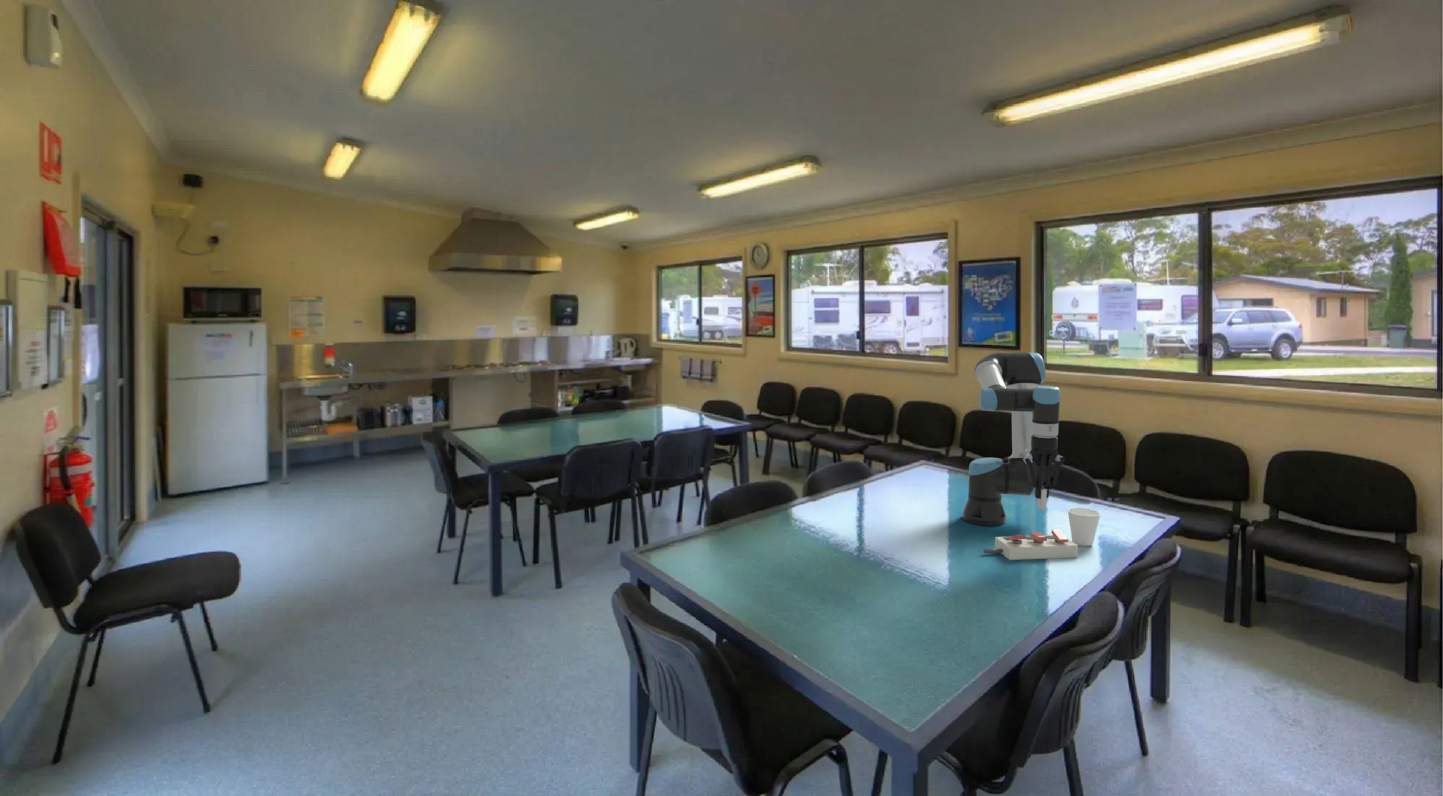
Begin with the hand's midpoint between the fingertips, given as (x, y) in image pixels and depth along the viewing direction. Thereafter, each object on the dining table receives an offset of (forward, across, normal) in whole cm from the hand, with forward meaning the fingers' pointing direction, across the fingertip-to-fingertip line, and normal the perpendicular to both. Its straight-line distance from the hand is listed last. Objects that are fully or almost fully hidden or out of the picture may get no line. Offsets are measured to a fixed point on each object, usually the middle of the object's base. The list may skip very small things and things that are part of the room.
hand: (1041, 507), depth 206 cm
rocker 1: (+9, -8, 0) cm, 12 cm away
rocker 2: (+10, -1, 0) cm, 10 cm away
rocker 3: (+10, +6, 0) cm, 11 cm away
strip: (+15, -4, +1) cm, 16 cm away
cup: (+16, +19, +8) cm, 26 cm away
